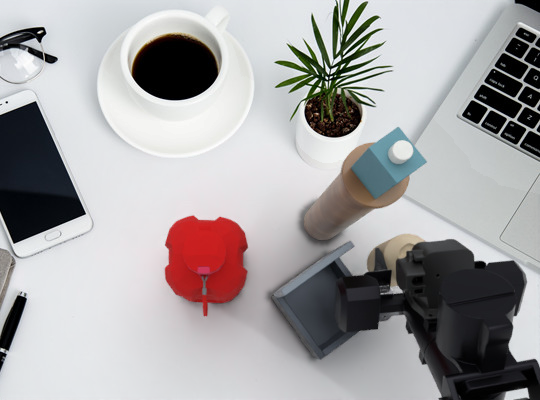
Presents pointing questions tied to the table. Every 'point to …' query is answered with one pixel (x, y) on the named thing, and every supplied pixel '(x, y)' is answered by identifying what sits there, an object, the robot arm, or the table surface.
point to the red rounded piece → (206, 260)
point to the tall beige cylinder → (347, 200)
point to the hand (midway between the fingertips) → (401, 247)
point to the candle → (394, 252)
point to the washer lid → (313, 269)
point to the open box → (316, 310)
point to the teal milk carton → (387, 162)
